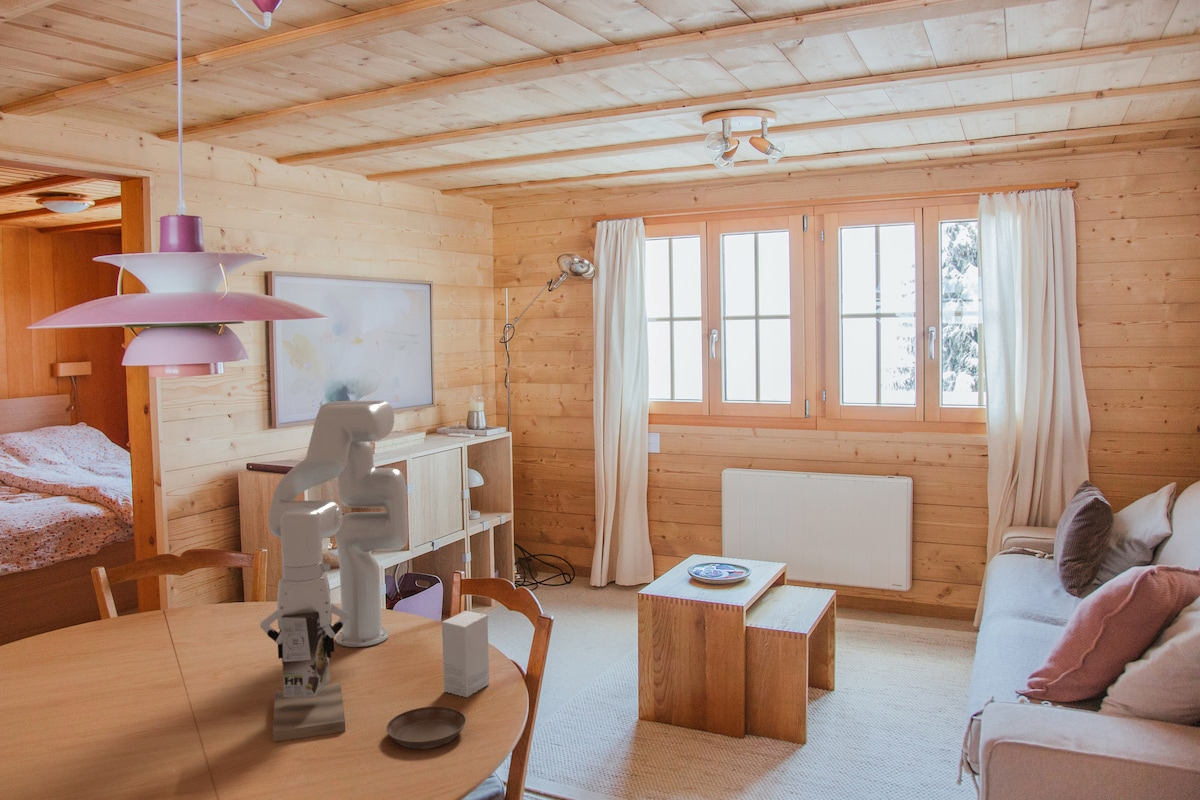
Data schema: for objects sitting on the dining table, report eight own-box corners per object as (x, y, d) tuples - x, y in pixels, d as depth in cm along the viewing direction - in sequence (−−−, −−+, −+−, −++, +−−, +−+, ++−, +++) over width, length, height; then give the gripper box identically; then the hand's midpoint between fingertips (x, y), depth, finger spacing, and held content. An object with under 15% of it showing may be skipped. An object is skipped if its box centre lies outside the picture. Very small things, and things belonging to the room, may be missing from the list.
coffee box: (315, 698, 175) (313, 617, 174) (282, 698, 175) (279, 616, 174) (331, 679, 184) (328, 602, 183) (299, 679, 185) (297, 602, 183)
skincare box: (467, 679, 197) (465, 609, 196) (491, 685, 194) (490, 614, 193) (442, 693, 190) (440, 620, 189) (466, 699, 187) (464, 625, 186)
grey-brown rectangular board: (275, 700, 188) (275, 691, 188) (340, 691, 192) (340, 682, 192) (273, 742, 169) (272, 731, 169) (345, 731, 173) (345, 721, 173)
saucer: (389, 760, 162) (388, 745, 161) (384, 725, 176) (384, 712, 176) (472, 748, 166) (471, 733, 166) (460, 715, 180) (460, 701, 180)
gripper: (347, 562, 184) (351, 646, 186) (256, 571, 179) (260, 657, 180) (349, 572, 177) (353, 659, 179) (254, 581, 172) (259, 671, 173)
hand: (306, 658), depth 179 cm, fingers closed on coffee box, 7 cm apart
